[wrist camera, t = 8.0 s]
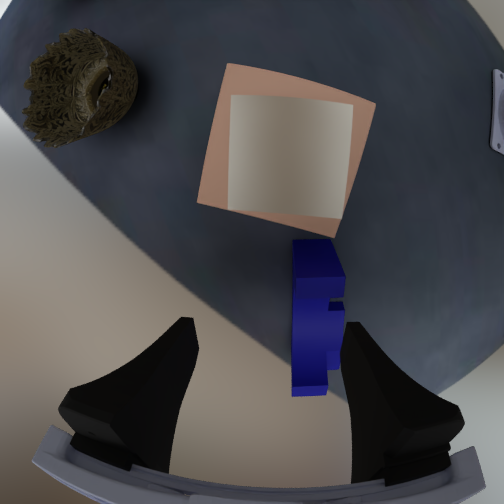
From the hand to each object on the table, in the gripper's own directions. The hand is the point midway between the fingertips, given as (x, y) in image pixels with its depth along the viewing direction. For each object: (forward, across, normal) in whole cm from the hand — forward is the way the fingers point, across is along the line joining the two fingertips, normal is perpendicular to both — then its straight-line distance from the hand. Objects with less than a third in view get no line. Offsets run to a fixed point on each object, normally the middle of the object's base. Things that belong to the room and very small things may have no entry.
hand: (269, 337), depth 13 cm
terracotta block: (+11, -1, -8) cm, 13 cm away
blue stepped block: (+11, -4, +5) cm, 13 cm away
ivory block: (+7, -1, -8) cm, 10 cm away
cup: (+11, +12, -13) cm, 21 cm away
